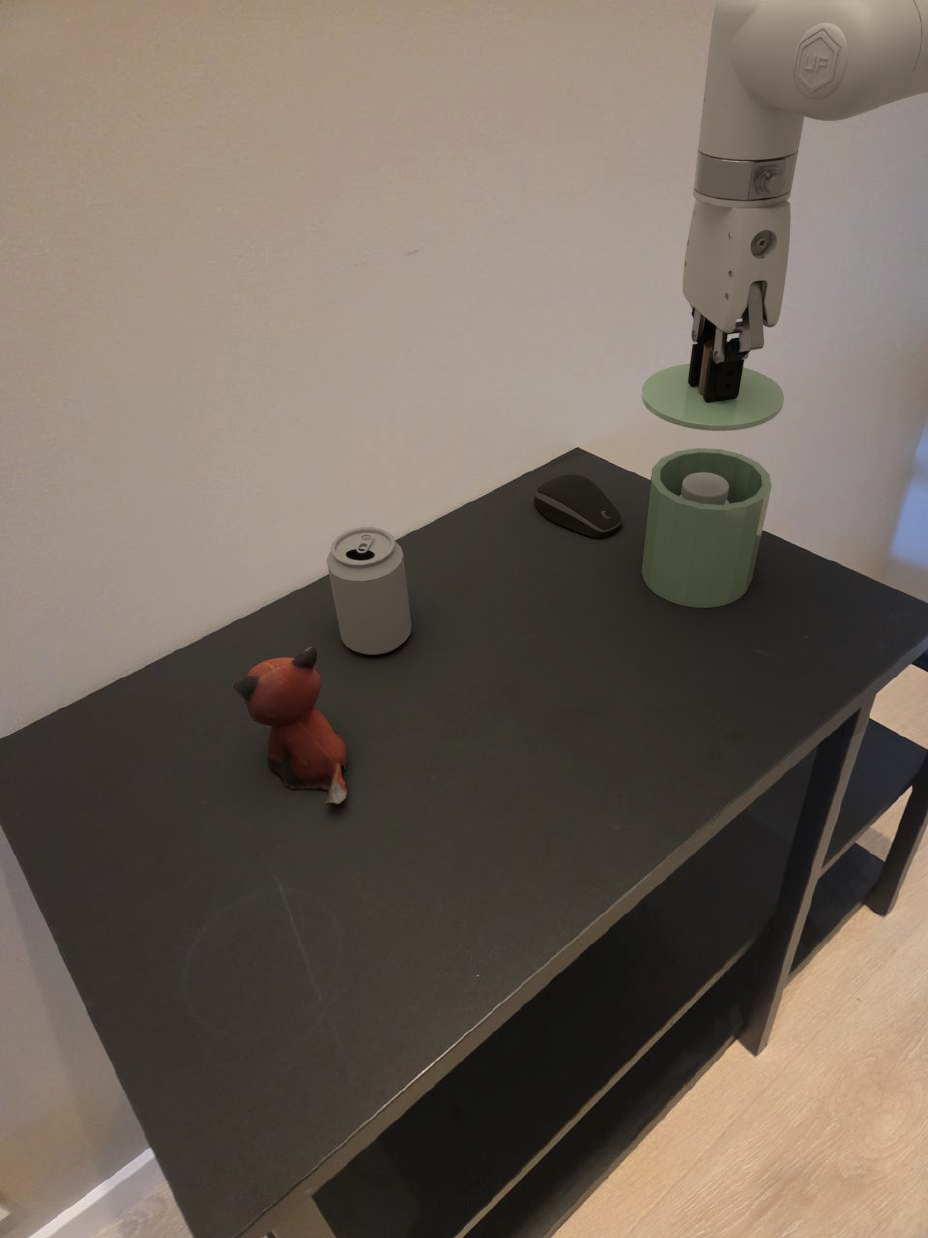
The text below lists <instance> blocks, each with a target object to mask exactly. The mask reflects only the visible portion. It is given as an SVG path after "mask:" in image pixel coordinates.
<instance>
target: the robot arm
mask: <svg viewBox="0 0 928 1238" xmlns="http://www.w3.org/2000/svg"><path fill="white" fill-rule="evenodd" d="M704 82H705V84H704V90H703V91H704V93H703V100H702V101H703V102H702V109H701V110H702V111H701V118H700V126H699V127H700V128H699V137H698V146H697V153H696V154H697V155H696V163H695V171H694V180H693V181H694V182H693V189H692V190H693V192H692V196H693V198H694V204H693V209H692V213H691V218H690V225H689V231H688V236H687V240H686V241H687V242H686V249H685V255H684V263H683V264H684V265H683V272H682V273H683V274H682V293H683V294H682V295H683V297H684V298H685V300H686V301H687V303H688V304H689V305H690V309H691V317H692V319H693V320H692V328H691V333H690V335H691V336H690V337H691V341H692V342H693V343H692V345H691V352H690V361H689V364H690V368H689V376H688V384H689V385H690V386H692V387H696V386H698V384H699V377H700V369H701V362H702V354H703V347H704V344H705V343H706V342H707V341H710V340H715V345H714V354H713V357H714V359H708V367H707V374H706V381H705V388H704V395H703V399H704V400H705V401H706V402H707V403H711V402H718V401H724V400H731V399H735V398H737V397H738V395H739V389H740V383H741V377H742V371H743V367H744V364H745V360H747V359H748V358H749V354H750V352H751V351H757V350H762V349H763V348H764V347H765V335H764V334H765V333H764V327H765V328H774V327H776V325H777V324H778V323H779V320H780V315H781V312H782V307H783V306H782V305H783V301H784V292H785V286H786V278H787V271H788V263H789V262H788V261H789V251H790V241H791V240H790V239H791V203H790V202H789V201H788V200H789V199H790V198H791V193H792V188H793V182H794V177H795V171H796V166H797V159H798V154H799V150H800V143H801V138H802V133H803V127H804V121H805V118H808V119H812V120H816V121H824V122H836V121H842V120H846V119H850V118H853V117H856V116H859V115H863V114H865V113H867V112H870V111H873V110H875V109H878V108H880V107H883V106H887V105H888V104H891V103H895V102H898V101H901V100H905V99H908V98H912V97H914V96H917V95H918V96H919V95H922V94H926V93H928V0H717V1H716V4H715V7H714V10H713V17H712V23H711V31H710V38H709V48H708V57H707V65H706V74H705V81H704ZM737 320H740V321H737ZM735 334H738V336H737V337H732V338H730V339H729V341H728V335H735ZM727 341H728V343H727Z"/></svg>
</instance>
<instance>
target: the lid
mask: <svg viewBox="0 0 928 1238" xmlns="http://www.w3.org/2000/svg"><path fill="white" fill-rule="evenodd" d="M728 342H729V341H728V340H727V343H728ZM714 345H715V340H710V341H707V342H706V343H705V344H704V347H703V354H702V362H701V369H700V377H699V384H698V386H696V387H692V386H690V385H689V384H688V376H689V368H690V363H684V364H683V363H682V364H677V365H673V366H668V367H667V368H664V369H660V370H659V371H656V372H655V373H652V374H651V375H649V377H648V378H647V379H646V380H645V381H644V382H643V384H642V386H641V393H640V394H641V395H640V396H641V401H642V404H643V405H644V406H645V408H646V409H647V410H648V411H649V412H650V413H652V414H653V415H654V416H656V417H657V418H659V419H661V420H664V421H665V422H668V423H670V424H673V425H676V426H679V427H683V428H687V429H692V430H693V429H694V430H700V431H712V432H728V431H738V430H739V431H740V430H747V429H751V428H755V427H757V426H760V425H763V424H766V423H767V422H769V421H772V420H773V419H774V418H776V417H777V416H778V415H779V414H780V412H781V411H782V408H783V406H784V401H785V394H784V391H783V389H782V387H781V386H780V385H779V384H778V383H777V382H776V381H775V380H773V379H772V378H771V377H769V376H767V375H765V374H763V373H761V372H759V371H757V370H754V369H750V368H747V367H744V366H743V371H742V377H741V383H740V389H739V395H738V397H737V398H735V399H731V400H724V401H718V402H711V403H707V402H706V401H705V400H704V399H703V395H704V388H705V381H706V374H707V367H708V359H714V357H713V354H714Z"/></svg>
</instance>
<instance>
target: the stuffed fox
mask: <svg viewBox="0 0 928 1238" xmlns="http://www.w3.org/2000/svg"><path fill="white" fill-rule="evenodd" d="M317 660H318V654H317V648H316V646H313V645H312V646H309V647H307V648H306V649H305V650H304V651H302V652H300V653H298V654H297V655H296V656H295V658H294V657H276V658H271V659H267V660H263V661H261V662H259V663H257V664H256V665H255V666H253V667H252V668H251V669H250V670H249V671H248V673H247V675H244V676H240V677H238V678H236V680H235V681H234V682H233V681H232V684H231V689H233V690H234V691H235V692H237V693H238V695H239V696H240V697H241V698H242V699H243V702H244V704H245V706H246V708H247V711H248V714H249V716H250V718H251V720H253V721H254V722H256V723H259V725H264V726H269V727H271V728H270V732H269V735H268V741H267V763H266V764H265V765H266V766H267V768H270V769H271V770H272V771H273V772H275V773H276V775H278V776H279V777H280V779H281V781H282V784H283V786H284V787H287V788H288V789H290V790H293V789H297V790H306V789H310V790H324V791H327V794H326V799H325V802H324V804H325V805H326V804H333V805H334V804H335V805H339V804H341V803H342V802H343V801H345V800H346V798H347V795H348V791H349V790H348V788H347V786H346V785H345V784H346V782H345V780H344V778H343V771H342V767H343V769H344V770H346V764H347V762H348V759H347V756H348V755H347V754H348V753H347V748H346V744H345V741H344V739H343V738H342V737H341V736H340V735H339V734H338V732H337V731H335V730H334V728H333V727H332V726H331V723H329V721H328V720H327V718H326V717H325V715H324V714H323V713H322V712H321V710H320V709H319V708H318V707H316V703H317V701H318V698H319V695H320V692H321V689H322V680H321V676H320V675H319V672H317V669H315V668H314V666H315V665H316V664H317Z"/></svg>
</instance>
